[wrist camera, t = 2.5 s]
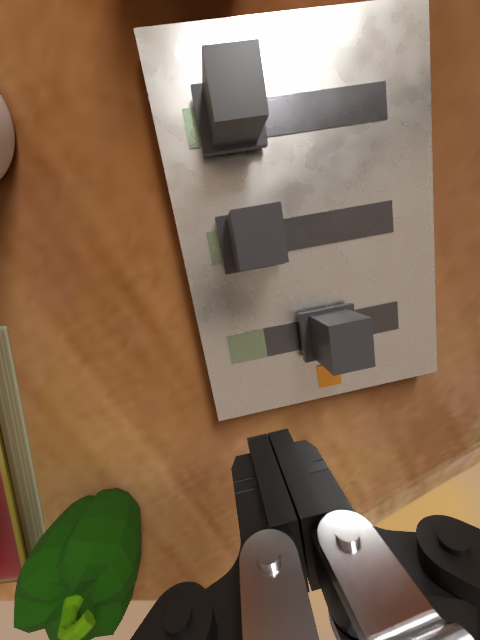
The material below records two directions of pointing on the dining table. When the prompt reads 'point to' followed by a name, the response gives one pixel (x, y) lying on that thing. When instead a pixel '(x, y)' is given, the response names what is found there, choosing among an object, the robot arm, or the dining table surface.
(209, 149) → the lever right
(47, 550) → the bell pepper
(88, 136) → the dining table surface
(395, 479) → the dining table surface
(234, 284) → the switch panel
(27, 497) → the hardcover book
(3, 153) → the fruit juice
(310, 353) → the lever
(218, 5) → the dining table surface
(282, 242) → the lever middle
